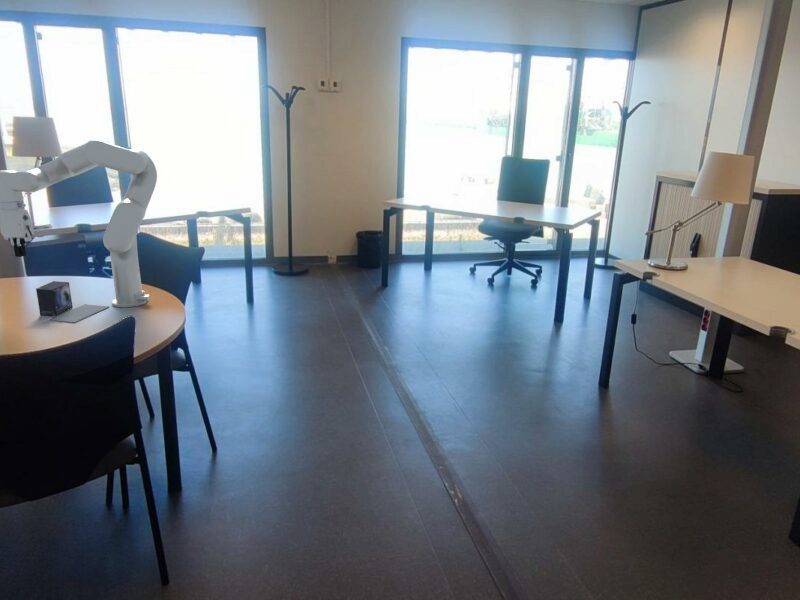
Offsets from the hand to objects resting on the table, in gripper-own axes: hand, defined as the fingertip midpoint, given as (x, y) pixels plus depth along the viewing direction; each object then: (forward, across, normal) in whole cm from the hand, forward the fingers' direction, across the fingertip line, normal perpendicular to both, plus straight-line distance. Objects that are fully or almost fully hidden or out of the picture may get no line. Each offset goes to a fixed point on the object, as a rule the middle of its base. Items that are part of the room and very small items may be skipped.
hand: (20, 255), depth 201 cm
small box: (+21, -11, 0) cm, 24 cm away
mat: (+20, -21, 0) cm, 29 cm away
